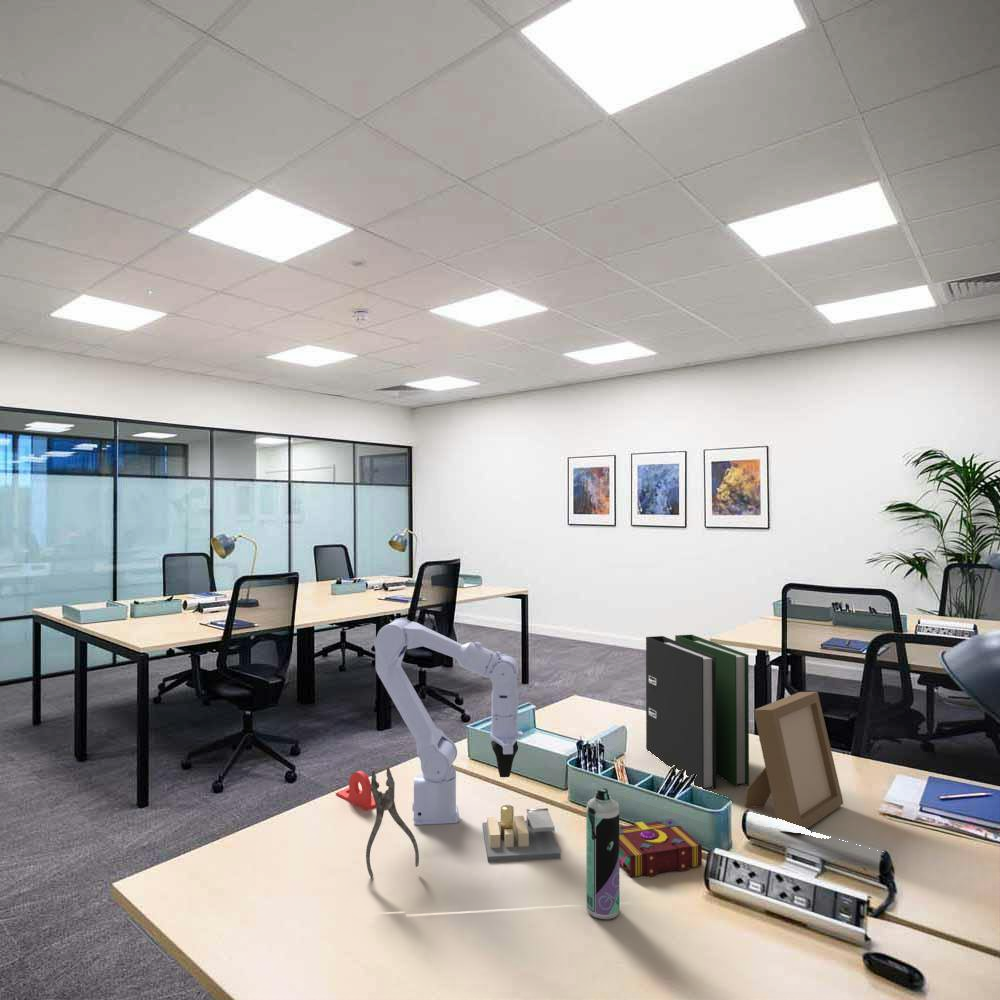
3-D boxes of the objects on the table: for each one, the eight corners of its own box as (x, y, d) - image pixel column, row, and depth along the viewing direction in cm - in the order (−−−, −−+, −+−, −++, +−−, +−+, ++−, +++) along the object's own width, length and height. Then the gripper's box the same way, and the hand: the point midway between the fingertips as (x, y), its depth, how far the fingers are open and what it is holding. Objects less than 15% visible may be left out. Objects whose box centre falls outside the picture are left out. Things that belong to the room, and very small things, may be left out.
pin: (501, 841, 134) (501, 810, 134) (499, 834, 136) (499, 805, 136) (514, 840, 134) (514, 810, 134) (512, 834, 137) (512, 804, 137)
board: (487, 861, 128) (487, 843, 128) (482, 827, 142) (482, 810, 142) (560, 858, 129) (560, 839, 129) (547, 824, 143) (547, 807, 143)
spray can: (611, 923, 109) (611, 799, 109) (581, 912, 112) (581, 791, 112) (624, 906, 113) (624, 787, 114) (594, 896, 116) (594, 780, 117)
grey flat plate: (532, 832, 133) (532, 826, 133) (526, 813, 142) (526, 808, 142) (554, 831, 134) (554, 825, 134) (547, 812, 142) (547, 807, 142)
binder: (751, 787, 162) (751, 654, 163) (697, 793, 159) (696, 658, 159) (692, 748, 189) (691, 634, 189) (644, 753, 185) (643, 637, 185)
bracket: (383, 805, 152) (383, 770, 152) (367, 812, 149) (367, 776, 149) (351, 791, 160) (351, 757, 160) (335, 797, 157) (335, 763, 157)
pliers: (417, 874, 124) (424, 765, 125) (418, 876, 123) (424, 767, 124) (364, 876, 122) (371, 766, 123) (364, 879, 122) (371, 767, 122)
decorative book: (703, 868, 126) (703, 841, 126) (625, 881, 122) (625, 854, 122) (672, 840, 137) (672, 815, 137) (599, 851, 132) (599, 825, 133)
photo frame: (843, 807, 151) (842, 696, 151) (799, 839, 137) (798, 716, 137) (779, 787, 162) (779, 683, 163) (732, 814, 148) (732, 700, 148)
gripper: (527, 723, 139) (527, 789, 138) (518, 702, 153) (518, 762, 153) (493, 724, 138) (493, 790, 138) (487, 703, 152) (487, 763, 152)
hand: (504, 776), depth 145 cm, fingers closed
